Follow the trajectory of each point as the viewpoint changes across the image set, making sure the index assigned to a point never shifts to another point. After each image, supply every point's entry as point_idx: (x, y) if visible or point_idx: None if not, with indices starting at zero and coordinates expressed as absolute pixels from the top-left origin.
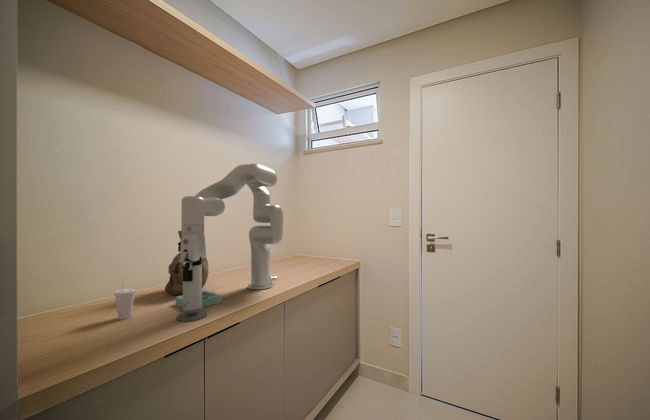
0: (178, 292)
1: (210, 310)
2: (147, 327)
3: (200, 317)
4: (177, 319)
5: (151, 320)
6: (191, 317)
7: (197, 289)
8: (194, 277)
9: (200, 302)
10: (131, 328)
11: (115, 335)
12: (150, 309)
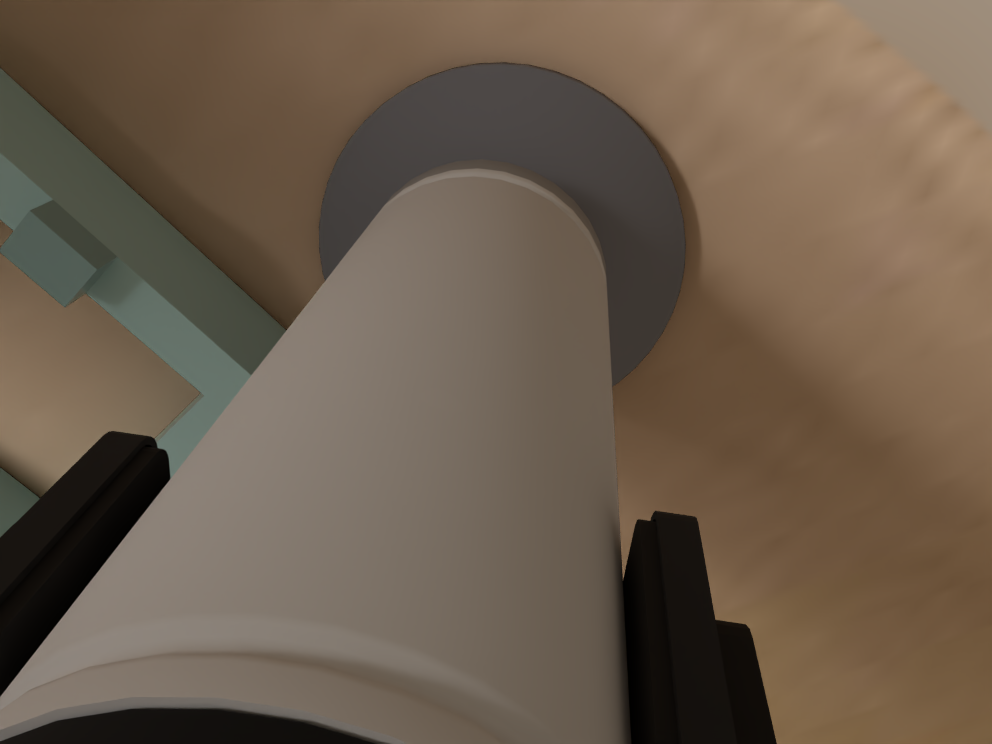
0: None
1: (293, 76)
2: (745, 581)
3: (620, 111)
4: (613, 381)
5: None
6: (600, 235)
7: (545, 312)
8: (587, 523)
9: (498, 192)
10: None
11: (864, 736)
12: None
